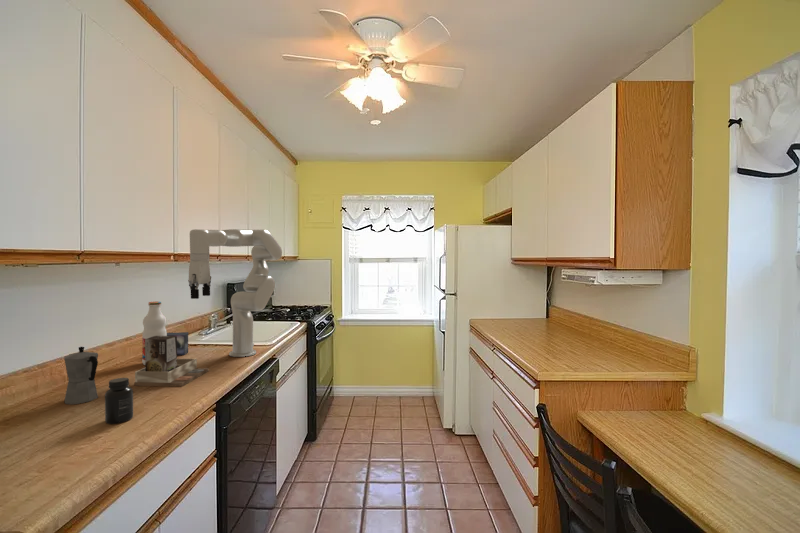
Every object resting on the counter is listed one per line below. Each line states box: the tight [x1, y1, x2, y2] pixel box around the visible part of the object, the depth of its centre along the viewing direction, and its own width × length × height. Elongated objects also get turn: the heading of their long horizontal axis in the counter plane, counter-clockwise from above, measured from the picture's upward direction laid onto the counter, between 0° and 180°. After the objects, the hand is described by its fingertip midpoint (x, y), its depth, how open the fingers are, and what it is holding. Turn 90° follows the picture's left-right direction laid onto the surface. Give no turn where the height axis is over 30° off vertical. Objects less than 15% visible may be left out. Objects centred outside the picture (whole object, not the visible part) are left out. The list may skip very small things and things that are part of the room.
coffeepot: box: [63, 346, 99, 405], centre depth 130 cm, size 15×9×18 cm, turn 65°
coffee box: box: [144, 336, 178, 372], centre depth 150 cm, size 9×6×16 cm
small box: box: [167, 331, 189, 357], centre depth 192 cm, size 11×6×10 cm, turn 102°
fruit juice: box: [141, 301, 168, 366], centre depth 175 cm, size 9×9×28 cm
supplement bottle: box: [104, 377, 134, 425], centre depth 115 cm, size 7×7×12 cm
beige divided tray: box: [134, 358, 209, 387], centre depth 155 cm, size 20×18×5 cm
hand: (200, 297), depth 168 cm, fingers open, 9 cm apart
